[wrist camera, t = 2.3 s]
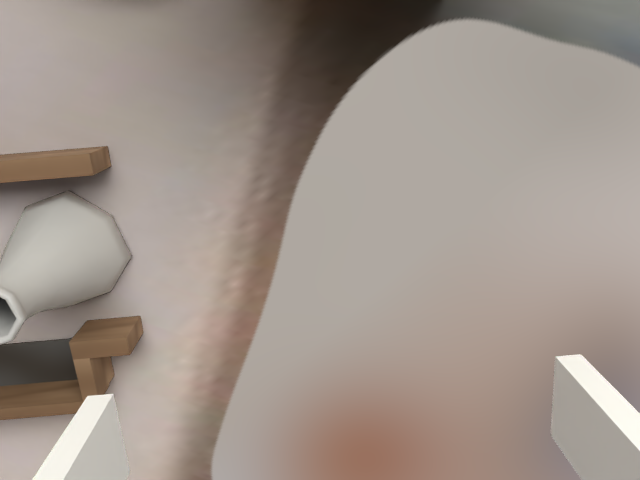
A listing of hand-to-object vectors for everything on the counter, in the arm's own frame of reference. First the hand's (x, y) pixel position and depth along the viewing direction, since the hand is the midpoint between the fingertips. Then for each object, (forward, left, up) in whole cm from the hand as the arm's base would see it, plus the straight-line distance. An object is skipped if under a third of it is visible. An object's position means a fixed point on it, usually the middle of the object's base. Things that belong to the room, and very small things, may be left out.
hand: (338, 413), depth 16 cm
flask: (0, -16, -20) cm, 25 cm away
